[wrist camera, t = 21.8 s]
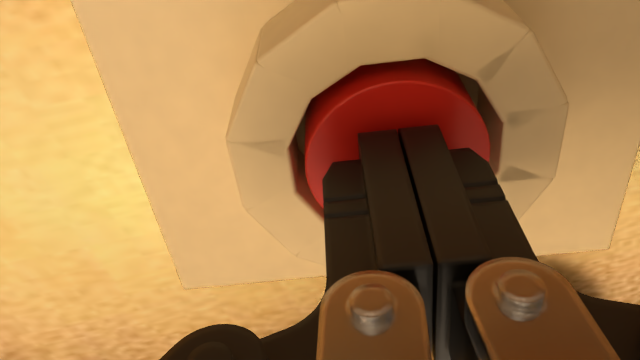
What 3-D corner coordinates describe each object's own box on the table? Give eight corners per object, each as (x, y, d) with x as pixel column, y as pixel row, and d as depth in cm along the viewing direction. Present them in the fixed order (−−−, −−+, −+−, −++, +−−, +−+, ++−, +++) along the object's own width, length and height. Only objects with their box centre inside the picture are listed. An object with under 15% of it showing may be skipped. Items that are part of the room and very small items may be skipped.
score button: (294, 53, 11) (292, 92, 9) (472, 33, 10) (499, 69, 9) (315, 193, 13) (316, 242, 11) (464, 178, 13) (484, 226, 11)
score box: (66, -110, 11) (-22, -77, 8) (679, -193, 10) (828, -191, 7) (193, 249, 16) (169, 343, 14) (584, 211, 16) (644, 301, 13)
